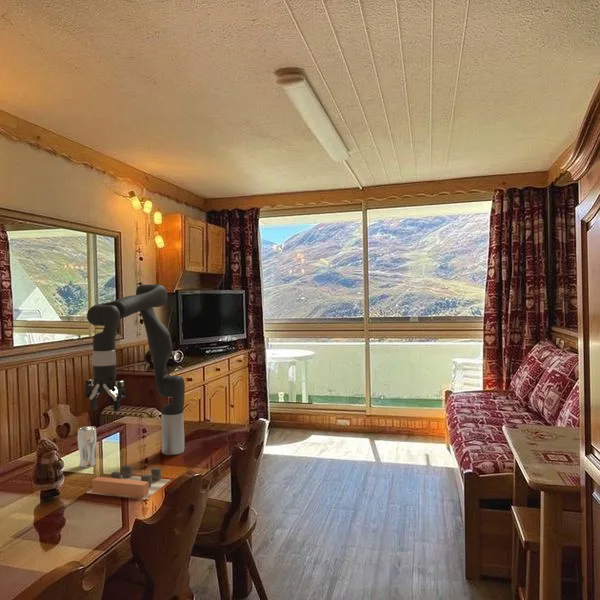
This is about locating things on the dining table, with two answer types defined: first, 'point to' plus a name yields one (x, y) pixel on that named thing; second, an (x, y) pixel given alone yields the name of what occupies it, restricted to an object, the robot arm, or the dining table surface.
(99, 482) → the bar
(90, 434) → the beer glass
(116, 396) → the robot arm
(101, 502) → the dining table surface
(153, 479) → the board
